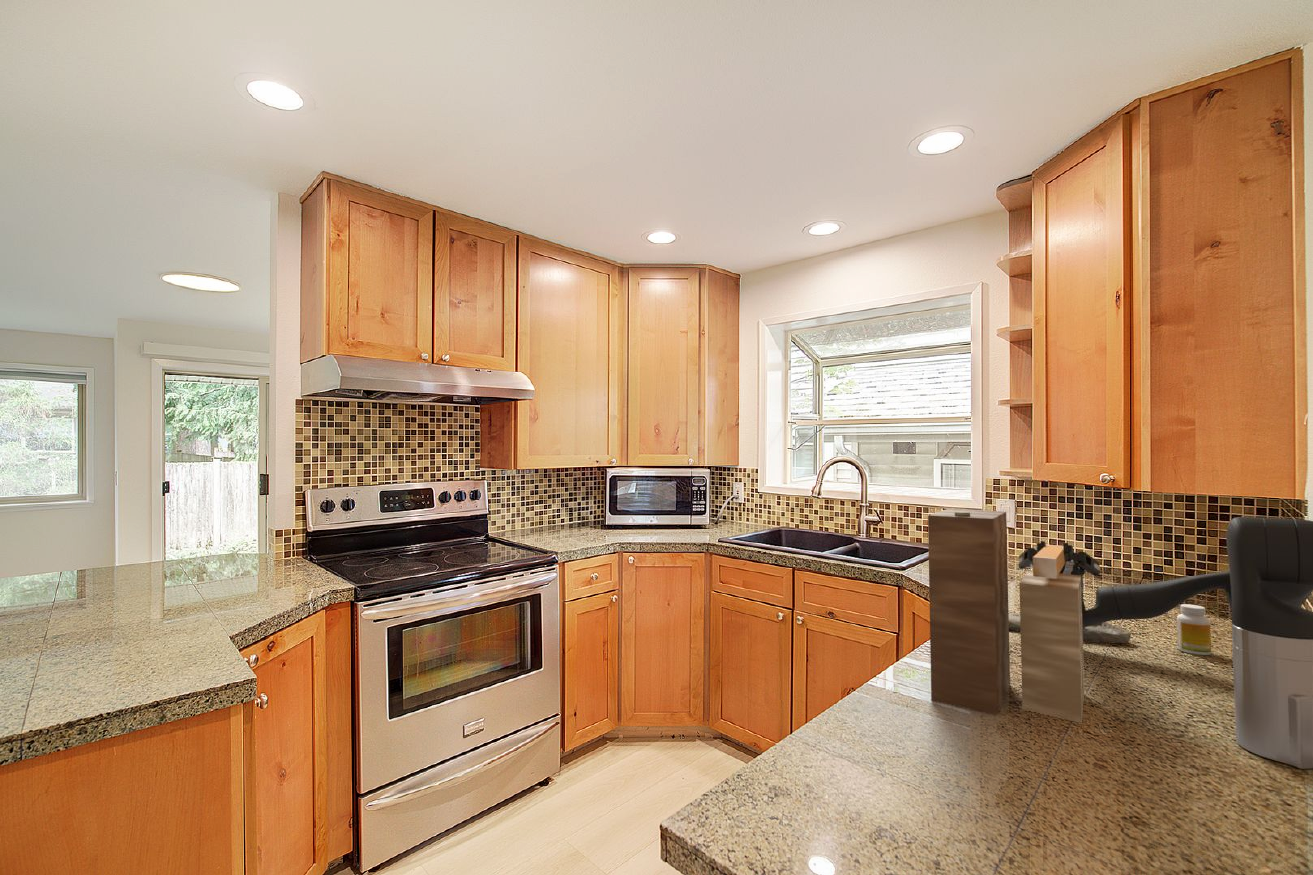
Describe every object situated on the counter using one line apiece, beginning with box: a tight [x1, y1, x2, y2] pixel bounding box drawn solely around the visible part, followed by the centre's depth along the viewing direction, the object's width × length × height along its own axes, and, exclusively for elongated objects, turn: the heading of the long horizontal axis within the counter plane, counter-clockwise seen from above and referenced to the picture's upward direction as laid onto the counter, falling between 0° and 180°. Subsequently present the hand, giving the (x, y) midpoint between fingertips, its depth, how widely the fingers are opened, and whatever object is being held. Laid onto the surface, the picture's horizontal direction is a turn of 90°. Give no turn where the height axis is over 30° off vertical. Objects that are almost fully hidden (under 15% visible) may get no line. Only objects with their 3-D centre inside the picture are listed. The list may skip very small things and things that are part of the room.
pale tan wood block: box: [1032, 544, 1066, 579], centre depth 103 cm, size 26×3×3 cm, turn 142°
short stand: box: [1019, 569, 1085, 724], centre depth 102 cm, size 14×8×21 cm, turn 143°
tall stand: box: [927, 508, 1011, 716], centre depth 106 cm, size 16×10×33 cm, turn 143°
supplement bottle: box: [1176, 603, 1212, 656], centre depth 127 cm, size 5×5×10 cm
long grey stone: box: [1009, 612, 1131, 644], centre depth 143 cm, size 35×5×10 cm
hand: (1054, 546), depth 109 cm, fingers closed on pale tan wood block, 3 cm apart
